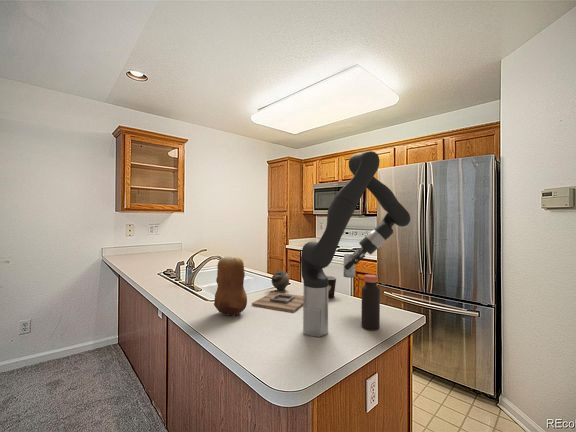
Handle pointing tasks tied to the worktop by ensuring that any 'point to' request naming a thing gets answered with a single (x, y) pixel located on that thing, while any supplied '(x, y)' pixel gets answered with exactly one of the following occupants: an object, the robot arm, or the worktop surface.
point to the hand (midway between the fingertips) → (345, 267)
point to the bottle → (370, 303)
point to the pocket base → (280, 302)
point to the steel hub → (351, 271)
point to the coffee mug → (331, 286)
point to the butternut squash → (230, 286)
